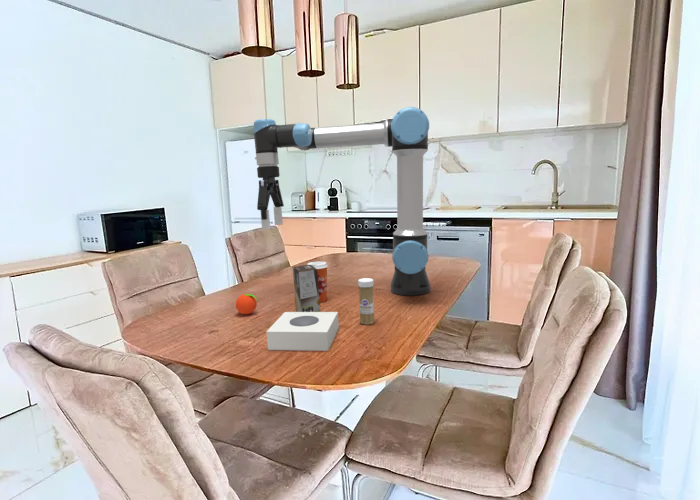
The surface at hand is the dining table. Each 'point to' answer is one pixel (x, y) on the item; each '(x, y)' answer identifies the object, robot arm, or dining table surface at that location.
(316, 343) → the plinth
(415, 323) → the dining table surface
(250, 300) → the clementine
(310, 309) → the coffee box
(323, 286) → the paper cup
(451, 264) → the dining table surface
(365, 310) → the sprinkles bottle
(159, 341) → the dining table surface
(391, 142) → the robot arm
